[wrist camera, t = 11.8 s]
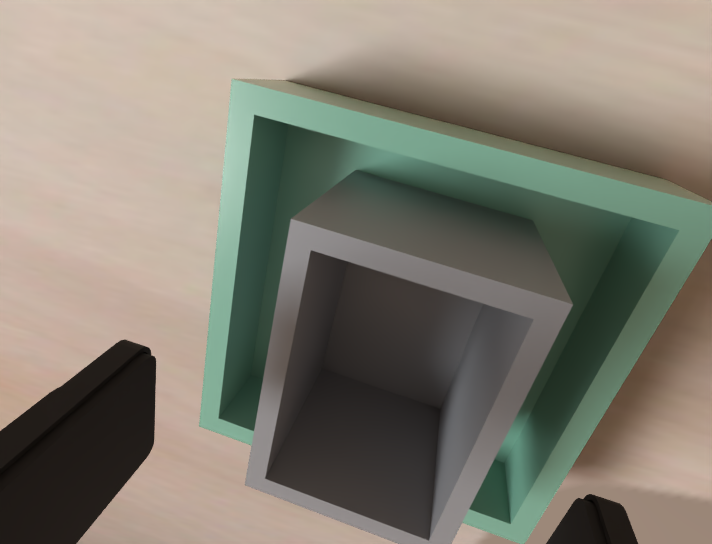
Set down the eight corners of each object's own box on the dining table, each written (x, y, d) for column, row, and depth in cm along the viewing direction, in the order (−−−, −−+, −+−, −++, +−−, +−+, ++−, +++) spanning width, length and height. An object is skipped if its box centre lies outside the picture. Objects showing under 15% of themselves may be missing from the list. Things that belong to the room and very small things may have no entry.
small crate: (355, 169, 16) (290, 218, 10) (532, 220, 15) (573, 304, 9) (310, 367, 20) (244, 485, 14) (450, 414, 19) (442, 560, 13)
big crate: (283, 80, 16) (231, 78, 13) (665, 179, 15) (729, 210, 11) (242, 370, 22) (199, 426, 18) (513, 464, 21) (523, 544, 17)
